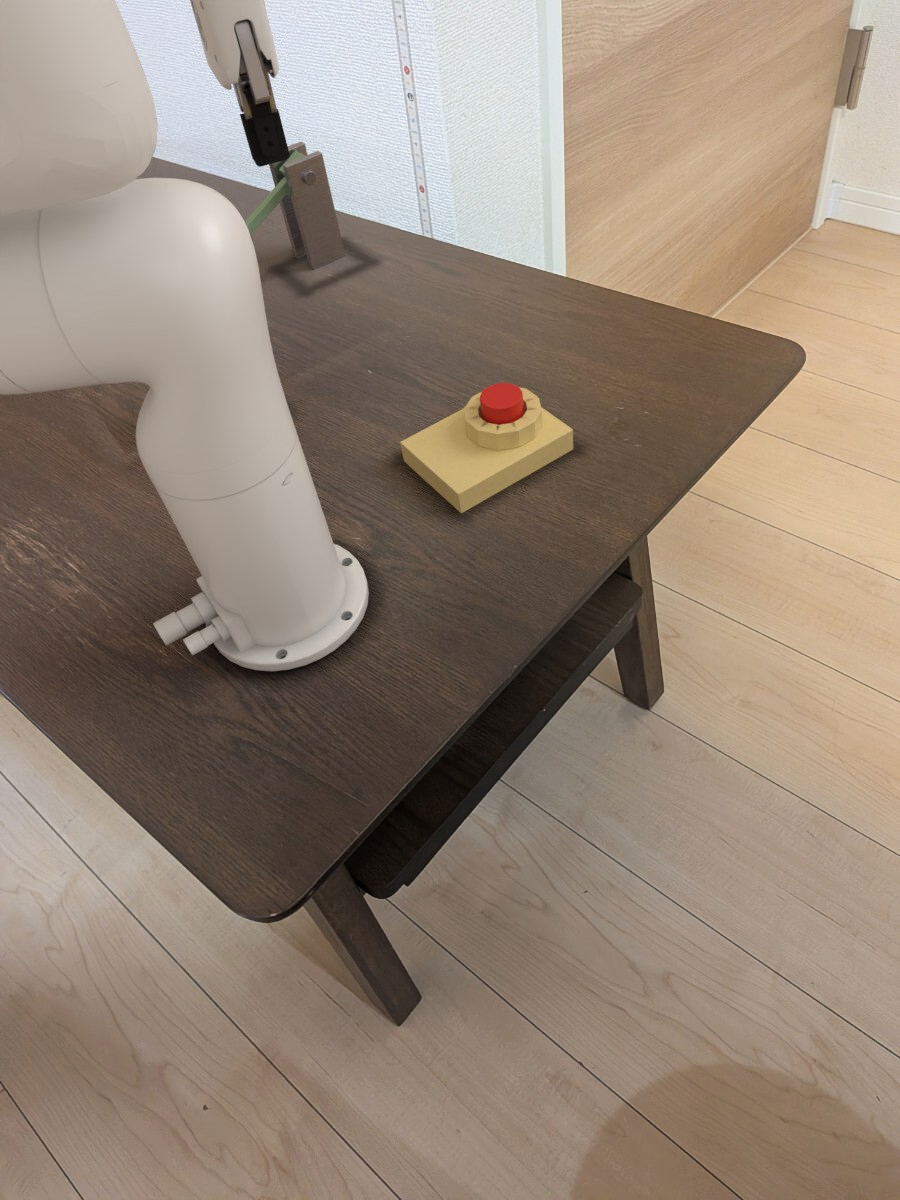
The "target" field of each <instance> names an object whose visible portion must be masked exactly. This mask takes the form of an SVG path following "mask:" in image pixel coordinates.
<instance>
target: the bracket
mask: <svg viewBox="0 0 900 1200" xmlns="http://www.w3.org/2000/svg"><path fill="white" fill-rule="evenodd" d="M287 146H288V150H289V154H290V156H291V155H292V154H293V153H294V152H295V151H298V152H299V153H301V154H303V155H305V156H303V157H301V158H298V159H296V160H293V161H291V162H288V163H285V162H286V161H287V160H288V159H287V160H283V161H279V162H276V163H272V164H269V165H268V166H269V169H270V174H271V177H272V180H273V184H274V188H275V187H276V185H277V184H278V183H279V182H280V181H281V180H282V179H283V178H284V176H283V174H282V173H281V172H280V171H279V169H280V168H281V166H282V165H283V169H284V173H285V176H286V180H287V184H288V188H289V192H288V194H287V195H286V196H285V197H284V198H283V199H282V200H281V201H280V203H279V206H280V210H281V213H282V217H283V220H284V224H285V226H286V231H287V235H288V238H289V242H290V246H291V249H292V252H293V256H294V257H295V258H296V259H300V258H304V257H305V256H306V259H307V262H308V266H309V268H310V269H311V270H313V271H315V270H317V269H320V268H323V267H324V266H327V265H328V264H332V263H333V262H336V261H338V260H340V259H343V258H345V257H346V252H345V248H344V243H343V239H342V235H341V230H340V225H339V222H338V221H339V220H338V217H337V213H336V209H335V204H334V200H333V195H332V190H331V186H330V181H329V178H328V173H327V169H326V165H325V160H324V156H323V153H322V152H320V151H319V150H316V151H314V152H311V153H308V150H307V147H306V143H304V142H303V141H299V142H296V143H293V144H290V145H287ZM290 156H289V157H290ZM284 163H285V164H284Z"/></svg>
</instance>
